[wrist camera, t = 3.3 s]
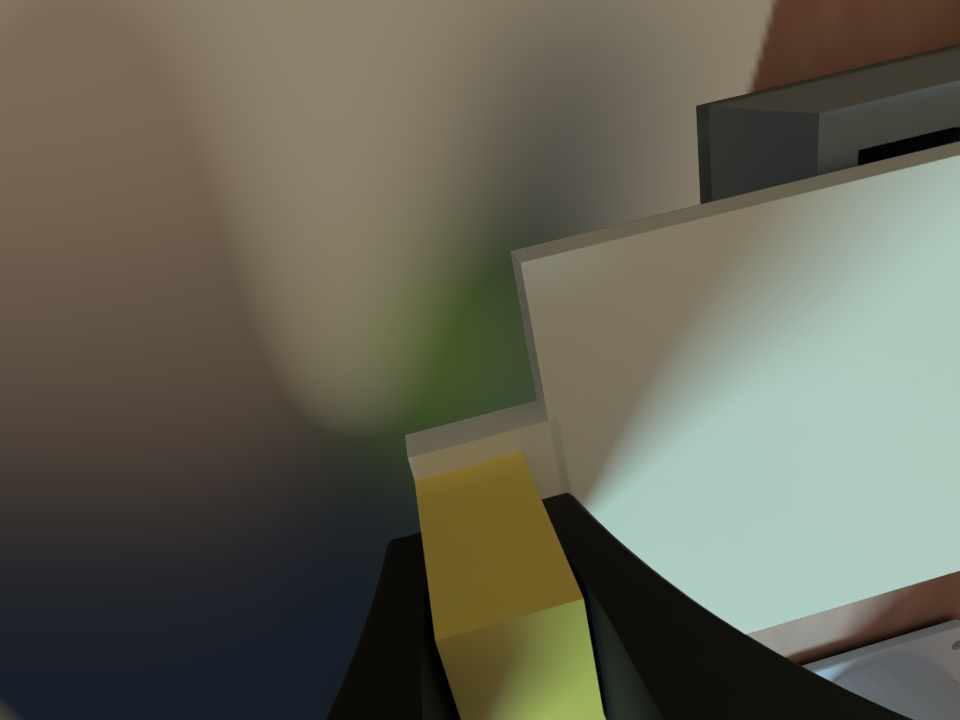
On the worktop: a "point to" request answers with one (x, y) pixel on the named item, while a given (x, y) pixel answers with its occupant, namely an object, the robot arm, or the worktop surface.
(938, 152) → the lid
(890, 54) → the worktop surface
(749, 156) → the tub
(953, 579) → the worktop surface
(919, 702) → the robot arm
